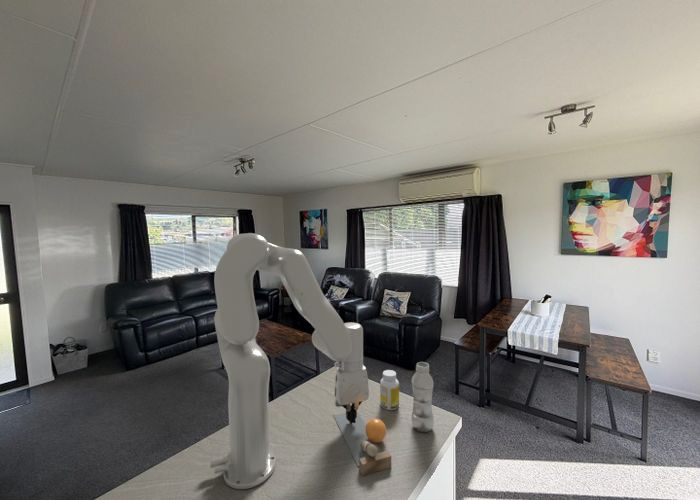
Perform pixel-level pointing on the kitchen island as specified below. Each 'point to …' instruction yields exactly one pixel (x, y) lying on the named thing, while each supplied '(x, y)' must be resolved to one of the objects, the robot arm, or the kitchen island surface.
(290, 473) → the kitchen island surface
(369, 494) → the kitchen island surface
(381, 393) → the pill bottle
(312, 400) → the kitchen island surface
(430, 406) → the plastic bottle
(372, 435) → the ball
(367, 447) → the pin
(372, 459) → the back wall
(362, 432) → the plate
